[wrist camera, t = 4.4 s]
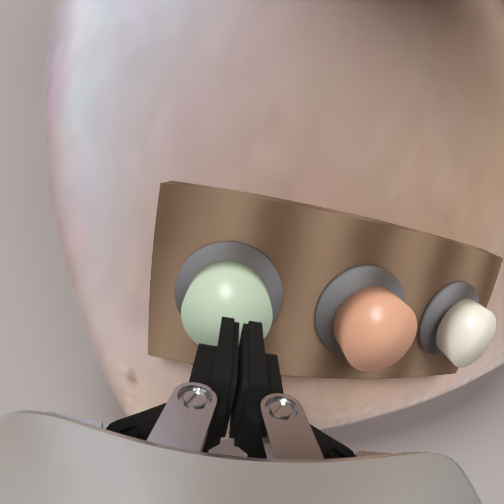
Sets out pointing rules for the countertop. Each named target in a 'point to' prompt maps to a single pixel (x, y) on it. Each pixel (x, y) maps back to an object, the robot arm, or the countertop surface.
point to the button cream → (465, 332)
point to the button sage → (224, 300)
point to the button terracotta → (374, 328)
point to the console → (308, 275)
